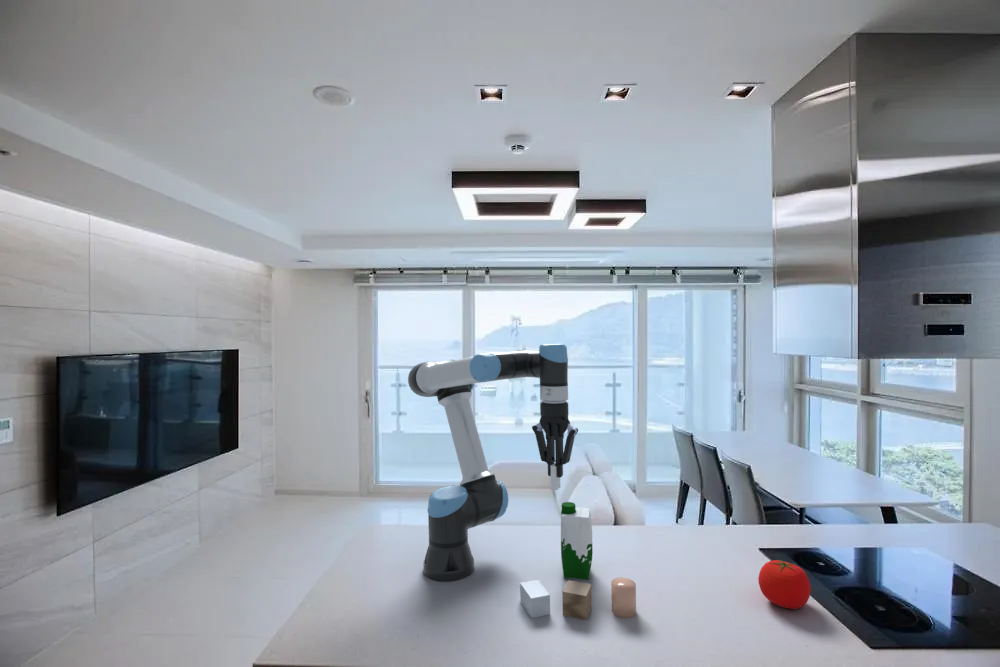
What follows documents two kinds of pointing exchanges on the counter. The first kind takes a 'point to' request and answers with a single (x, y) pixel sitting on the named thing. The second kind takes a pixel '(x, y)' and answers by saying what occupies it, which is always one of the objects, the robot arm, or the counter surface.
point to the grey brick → (535, 598)
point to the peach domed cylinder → (623, 597)
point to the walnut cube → (577, 599)
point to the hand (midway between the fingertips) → (555, 488)
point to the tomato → (784, 584)
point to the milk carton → (576, 541)
